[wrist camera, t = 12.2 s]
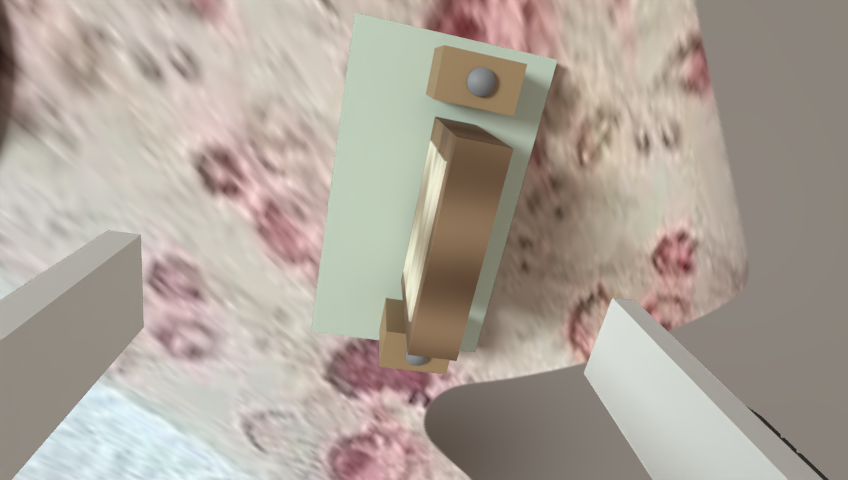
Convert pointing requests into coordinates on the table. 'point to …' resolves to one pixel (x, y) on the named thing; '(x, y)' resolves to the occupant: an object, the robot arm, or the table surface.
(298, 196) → the table surface
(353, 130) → the wall board
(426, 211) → the wooden frame
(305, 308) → the table surface
